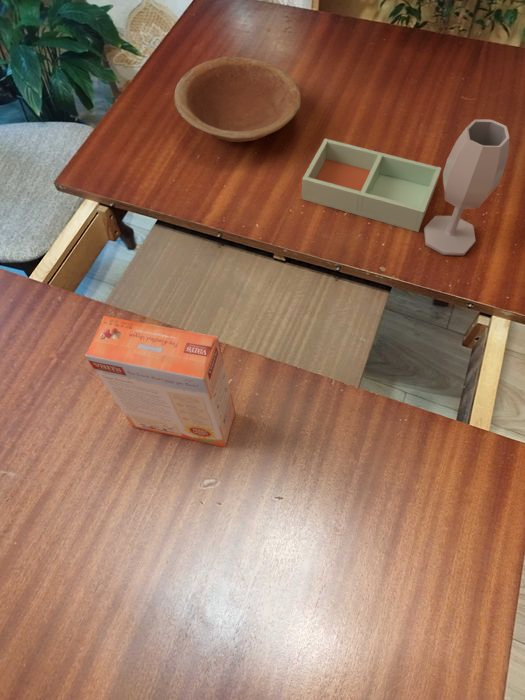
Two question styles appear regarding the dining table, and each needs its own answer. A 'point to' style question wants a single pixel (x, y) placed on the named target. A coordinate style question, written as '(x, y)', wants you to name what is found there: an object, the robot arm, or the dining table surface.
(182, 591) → the dining table surface
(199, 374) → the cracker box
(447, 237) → the wineglass
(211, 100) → the bowl
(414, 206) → the divided tray
